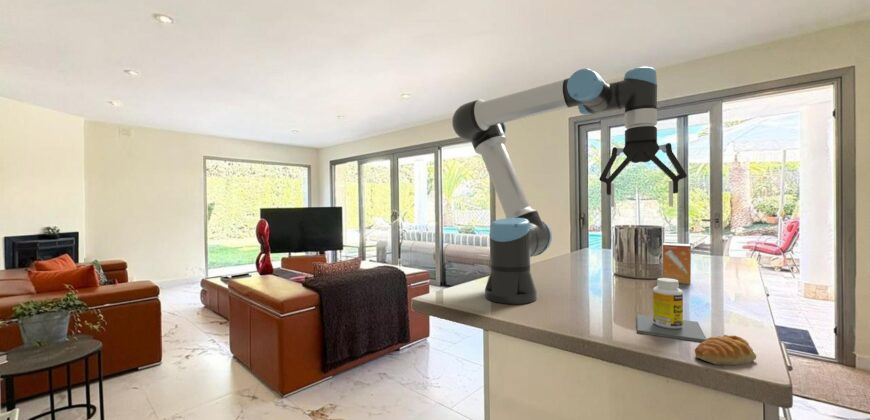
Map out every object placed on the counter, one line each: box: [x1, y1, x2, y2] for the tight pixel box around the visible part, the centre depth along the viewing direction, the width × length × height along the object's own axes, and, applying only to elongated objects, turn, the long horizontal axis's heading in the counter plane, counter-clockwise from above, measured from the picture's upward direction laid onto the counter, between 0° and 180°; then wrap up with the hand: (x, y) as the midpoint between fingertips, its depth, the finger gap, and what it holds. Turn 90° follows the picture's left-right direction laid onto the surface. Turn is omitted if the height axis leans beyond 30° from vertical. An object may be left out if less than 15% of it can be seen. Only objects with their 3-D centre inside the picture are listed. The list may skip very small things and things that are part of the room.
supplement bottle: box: [652, 277, 684, 329], centre depth 79 cm, size 6×6×10 cm
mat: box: [636, 314, 707, 343], centre depth 79 cm, size 12×12×1 cm
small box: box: [662, 242, 692, 285], centre depth 124 cm, size 8×6×13 cm
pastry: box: [694, 334, 757, 366], centre depth 64 cm, size 9×7×4 cm
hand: (640, 206), depth 97 cm, fingers open, 13 cm apart
